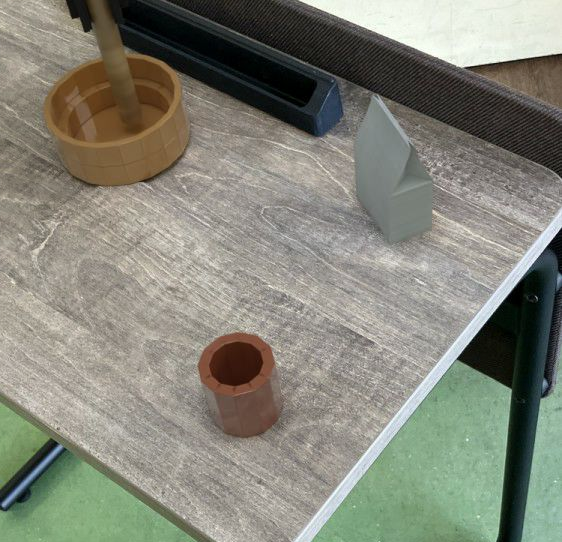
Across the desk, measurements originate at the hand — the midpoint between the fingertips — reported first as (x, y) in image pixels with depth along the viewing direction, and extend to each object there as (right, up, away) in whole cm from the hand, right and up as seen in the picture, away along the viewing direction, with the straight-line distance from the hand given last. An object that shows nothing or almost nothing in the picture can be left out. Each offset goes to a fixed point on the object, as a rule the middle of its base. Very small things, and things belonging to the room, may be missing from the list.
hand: (102, 17), depth 78 cm
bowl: (0, -8, +10) cm, 13 cm away
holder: (+12, -32, -8) cm, 35 cm away
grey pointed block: (+24, -16, +2) cm, 29 cm away
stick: (+1, -6, +9) cm, 11 cm away
